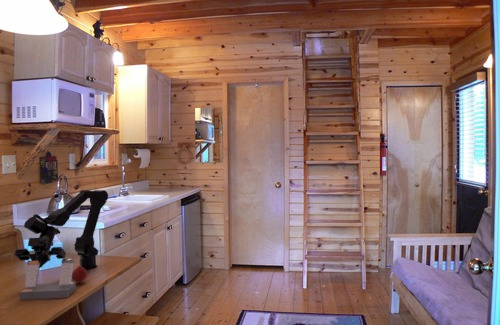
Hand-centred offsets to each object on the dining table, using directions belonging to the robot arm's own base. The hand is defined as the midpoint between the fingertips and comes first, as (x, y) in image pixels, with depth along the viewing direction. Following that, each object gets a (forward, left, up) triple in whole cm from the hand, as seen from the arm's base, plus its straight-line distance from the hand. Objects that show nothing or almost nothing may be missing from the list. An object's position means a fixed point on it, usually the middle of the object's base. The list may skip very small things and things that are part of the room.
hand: (33, 272), depth 142 cm
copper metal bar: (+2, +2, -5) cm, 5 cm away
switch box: (-3, +6, -9) cm, 11 cm away
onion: (-16, +4, -9) cm, 19 cm away
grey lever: (-8, +11, -5) cm, 14 cm away
